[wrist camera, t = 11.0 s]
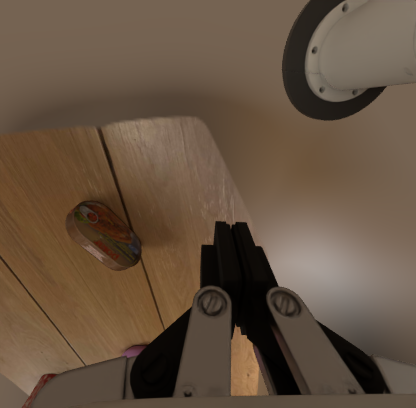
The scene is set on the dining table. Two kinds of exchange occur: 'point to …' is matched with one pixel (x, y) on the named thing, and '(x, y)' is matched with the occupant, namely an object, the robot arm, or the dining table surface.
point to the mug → (38, 389)
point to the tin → (103, 235)
